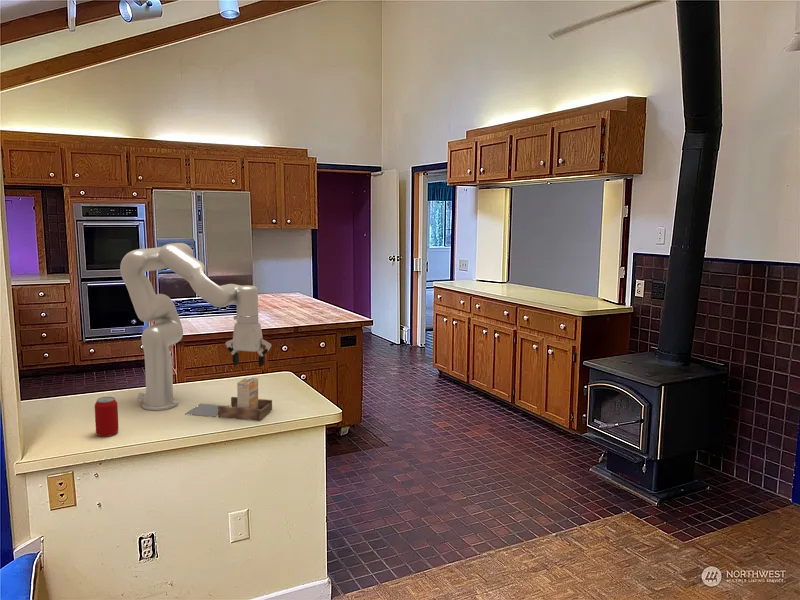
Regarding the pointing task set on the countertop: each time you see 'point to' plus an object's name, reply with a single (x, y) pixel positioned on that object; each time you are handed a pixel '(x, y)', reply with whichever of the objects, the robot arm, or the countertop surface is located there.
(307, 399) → the countertop surface
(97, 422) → the beverage can
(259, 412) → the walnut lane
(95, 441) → the countertop surface
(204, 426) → the countertop surface
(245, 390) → the supplement box
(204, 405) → the mat
